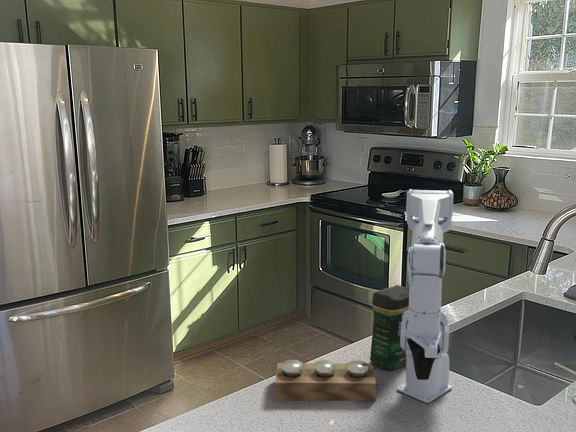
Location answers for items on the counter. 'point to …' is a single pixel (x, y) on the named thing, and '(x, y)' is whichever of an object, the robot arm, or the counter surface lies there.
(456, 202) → the counter surface
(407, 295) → the coffee jar
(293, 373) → the knob
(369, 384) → the block
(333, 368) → the middle knob
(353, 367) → the knob
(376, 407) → the counter surface
